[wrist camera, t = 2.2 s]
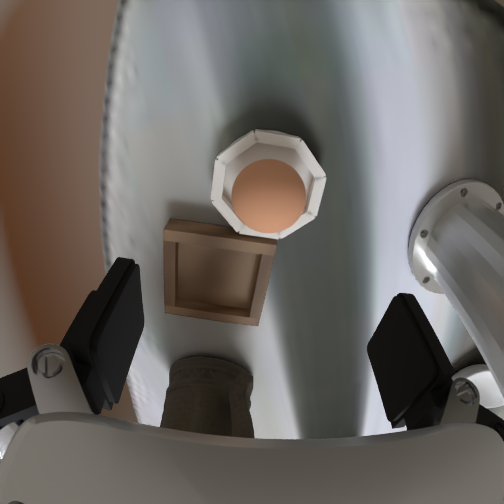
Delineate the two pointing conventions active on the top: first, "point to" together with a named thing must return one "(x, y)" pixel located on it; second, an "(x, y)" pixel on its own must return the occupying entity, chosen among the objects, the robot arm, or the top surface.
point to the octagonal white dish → (260, 148)
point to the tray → (215, 272)
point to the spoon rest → (483, 384)
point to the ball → (268, 196)
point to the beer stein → (209, 398)
